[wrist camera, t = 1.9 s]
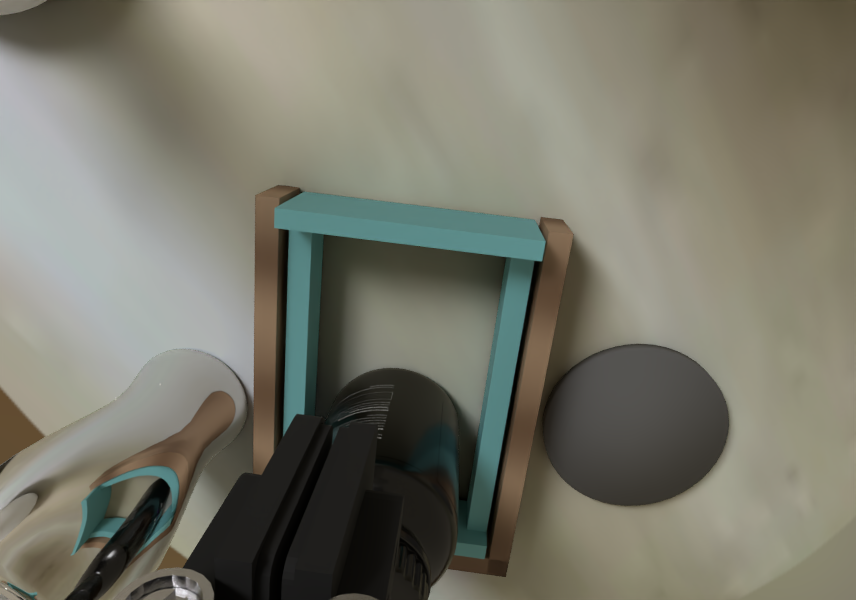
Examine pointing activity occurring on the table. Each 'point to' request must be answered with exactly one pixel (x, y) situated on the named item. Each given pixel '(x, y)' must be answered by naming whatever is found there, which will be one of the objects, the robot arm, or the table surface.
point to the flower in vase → (17, 5)
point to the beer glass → (115, 482)
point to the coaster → (635, 424)
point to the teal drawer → (423, 228)
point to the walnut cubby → (524, 389)
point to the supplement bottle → (411, 467)
